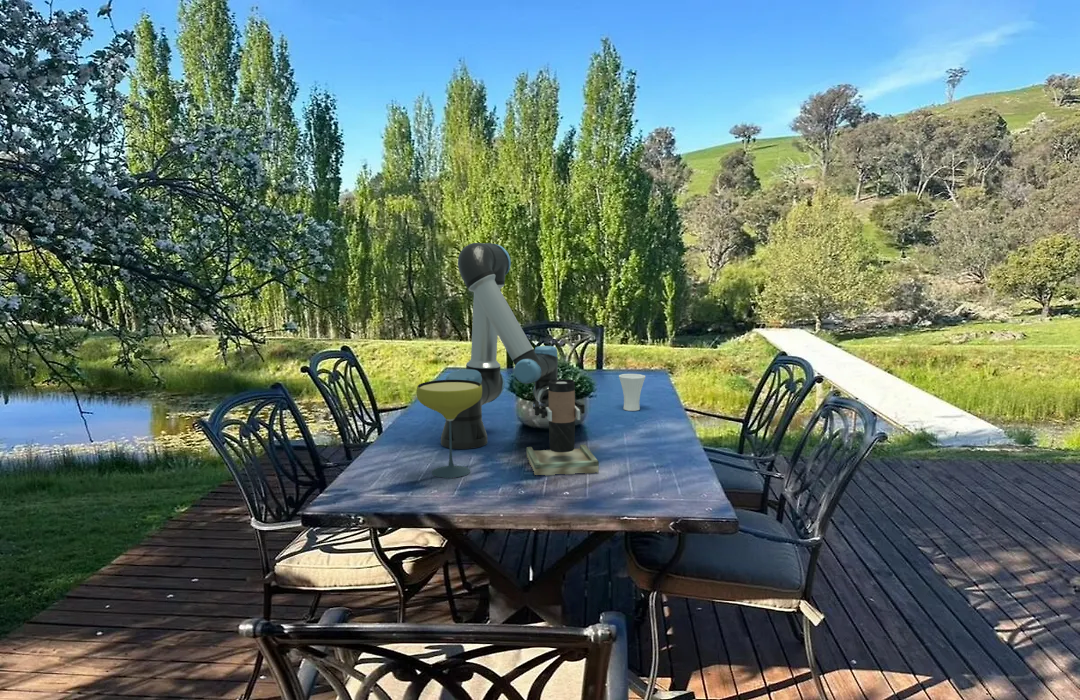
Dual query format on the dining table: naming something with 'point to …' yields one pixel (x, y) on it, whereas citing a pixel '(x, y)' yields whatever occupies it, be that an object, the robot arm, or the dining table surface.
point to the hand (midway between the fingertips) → (564, 415)
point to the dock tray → (562, 461)
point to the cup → (631, 390)
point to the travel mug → (562, 415)
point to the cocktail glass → (449, 410)
